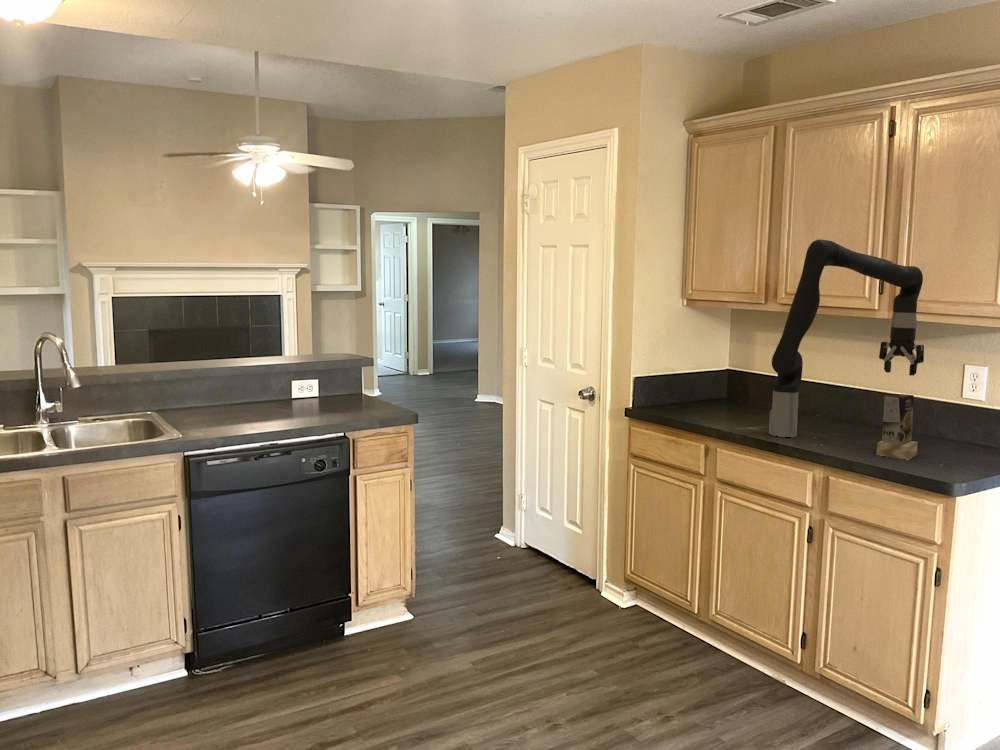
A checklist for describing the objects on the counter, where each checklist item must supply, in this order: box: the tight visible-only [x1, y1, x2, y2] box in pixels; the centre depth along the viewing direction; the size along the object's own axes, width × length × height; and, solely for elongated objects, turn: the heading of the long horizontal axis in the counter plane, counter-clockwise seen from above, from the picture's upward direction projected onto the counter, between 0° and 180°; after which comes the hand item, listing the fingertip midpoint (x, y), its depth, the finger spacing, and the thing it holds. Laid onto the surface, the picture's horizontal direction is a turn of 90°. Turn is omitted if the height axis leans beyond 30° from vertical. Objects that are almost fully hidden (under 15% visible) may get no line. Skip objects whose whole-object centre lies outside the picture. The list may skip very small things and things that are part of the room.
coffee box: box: [881, 393, 915, 445], centre depth 267 cm, size 9×6×16 cm
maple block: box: [876, 439, 919, 461], centre depth 268 cm, size 10×10×5 cm
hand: (899, 373), depth 265 cm, fingers open, 8 cm apart
